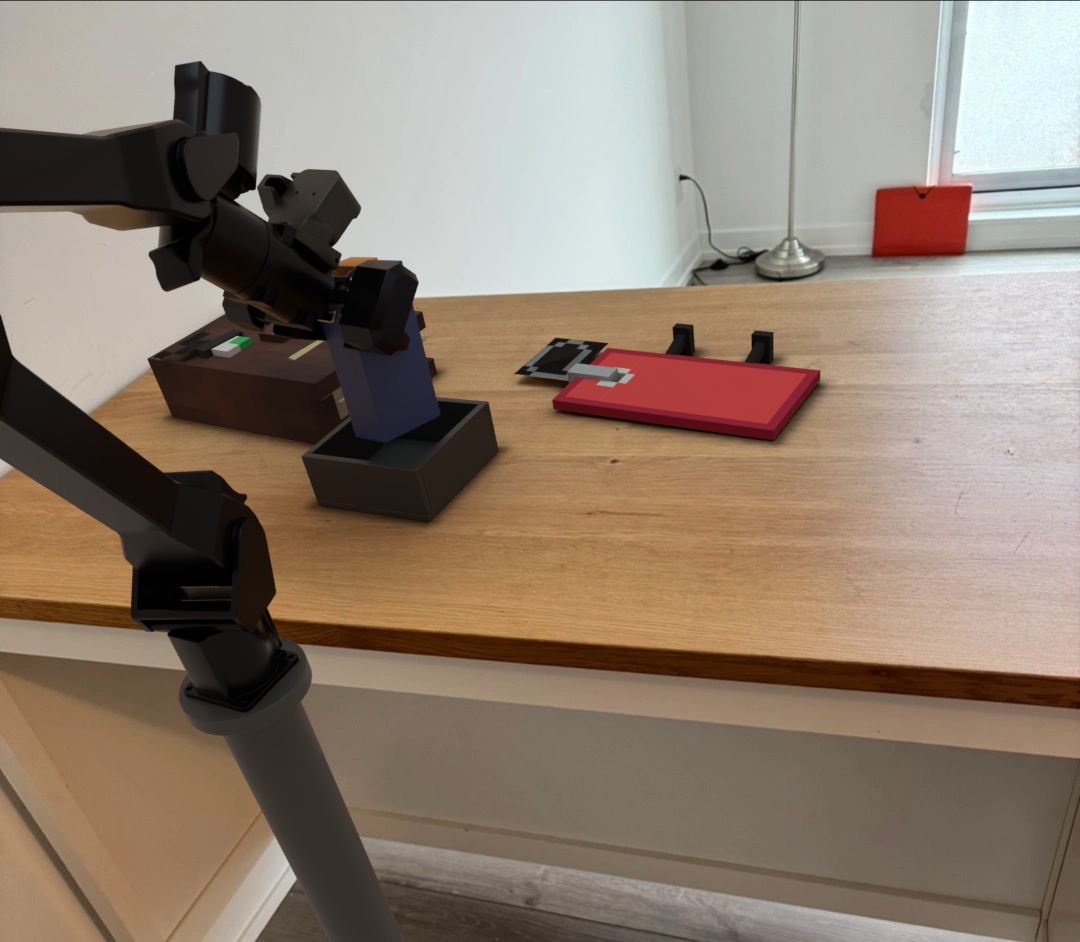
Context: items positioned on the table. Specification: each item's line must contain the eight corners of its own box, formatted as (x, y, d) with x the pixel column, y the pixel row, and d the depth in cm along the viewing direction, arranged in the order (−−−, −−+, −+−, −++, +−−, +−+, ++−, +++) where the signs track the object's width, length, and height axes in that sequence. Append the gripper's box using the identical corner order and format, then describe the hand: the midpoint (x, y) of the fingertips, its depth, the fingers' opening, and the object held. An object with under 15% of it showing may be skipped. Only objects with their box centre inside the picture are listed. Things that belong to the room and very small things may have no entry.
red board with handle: (565, 338, 111) (491, 404, 103) (561, 312, 109) (485, 377, 101) (834, 366, 97) (773, 445, 88) (835, 337, 95) (773, 415, 87)
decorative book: (322, 383, 94) (121, 354, 109) (345, 457, 99) (150, 419, 114) (445, 300, 105) (246, 283, 120) (460, 370, 110) (268, 345, 125)
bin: (429, 522, 88) (415, 470, 84) (318, 505, 93) (300, 456, 90) (499, 451, 95) (488, 401, 92) (392, 439, 101) (378, 391, 97)
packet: (385, 443, 87) (336, 274, 79) (355, 436, 90) (305, 272, 82) (441, 415, 90) (399, 249, 82) (410, 409, 93) (367, 249, 85)
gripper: (364, 144, 67) (499, 255, 80) (197, 140, 78) (341, 239, 91) (315, 310, 69) (456, 392, 82) (156, 284, 79) (305, 361, 92)
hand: (387, 340), depth 86 cm, fingers closed on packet, 4 cm apart
